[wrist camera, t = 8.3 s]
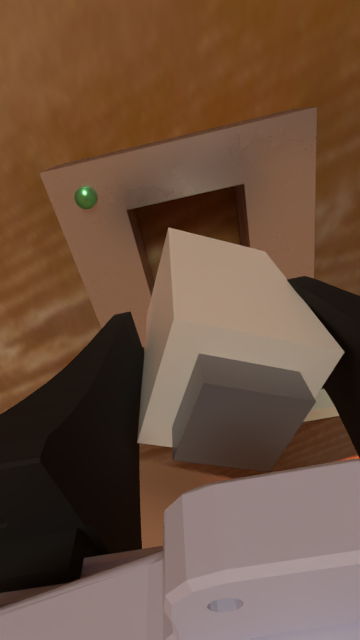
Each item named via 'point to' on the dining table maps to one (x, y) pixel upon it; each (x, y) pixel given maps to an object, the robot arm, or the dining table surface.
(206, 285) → the plug
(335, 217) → the dining table surface
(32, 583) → the robot arm
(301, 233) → the port block
